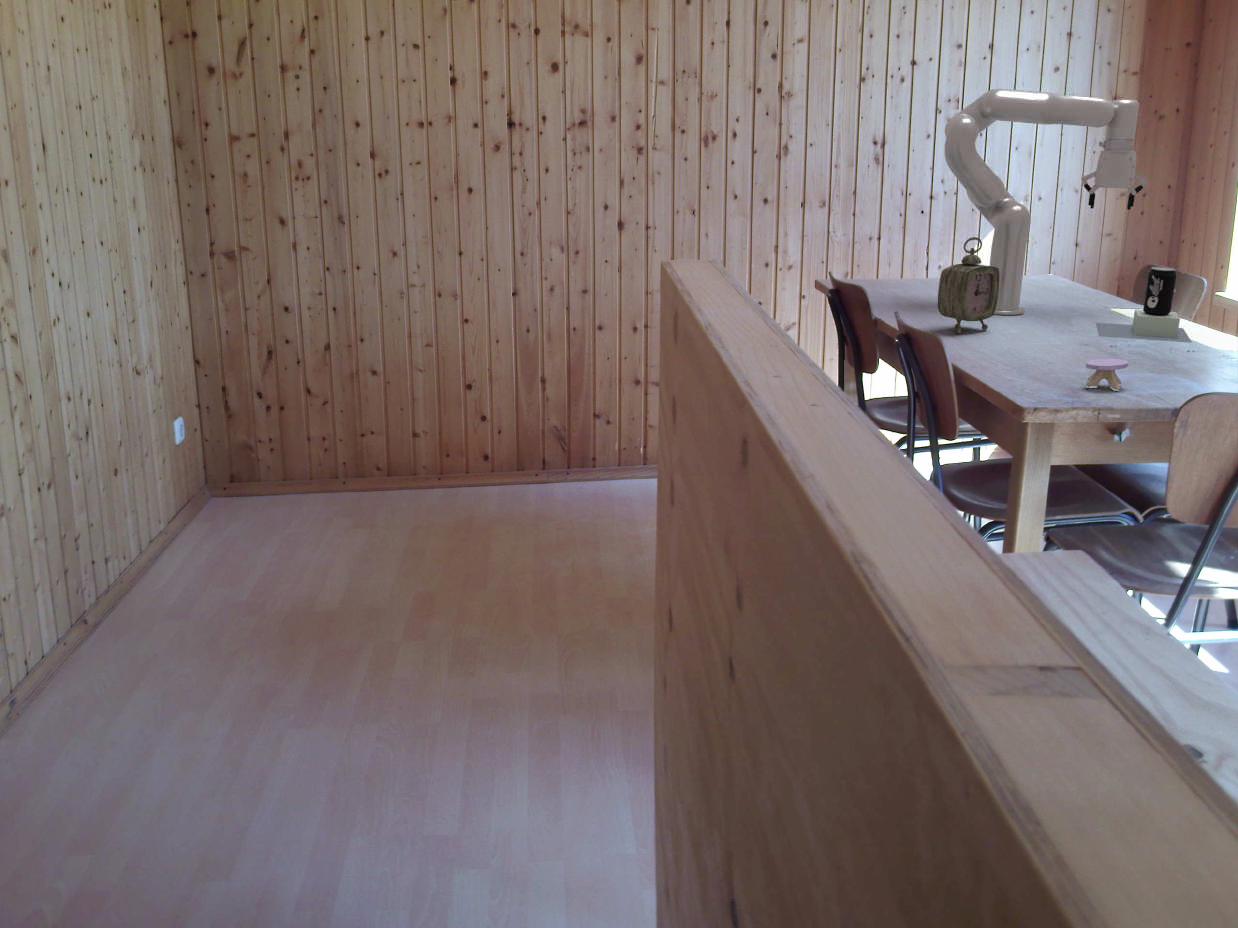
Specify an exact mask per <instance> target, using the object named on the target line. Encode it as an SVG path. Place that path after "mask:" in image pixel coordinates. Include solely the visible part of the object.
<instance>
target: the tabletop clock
mask: <svg viewBox="0 0 1238 928" xmlns="http://www.w3.org/2000/svg"><path fill="white" fill-rule="evenodd" d="M970 241H978V242H979V244H980V245H979V248H977V249H976V250H975V247H971V248H970V250H968V249H967V248H966V246H967V244H968V243H969V242H970ZM982 241H983V240H981V238H979V237H975V236H973V237H969V238H968V239H966V241H965V242H964V244H963V251H964V252H965V253H966V254H967V255H964V256H963V257H962V259H961V260H960V262H961V263H957V264H953V265H950V266H948V267H946V268H944V269H942V270H941V273H940V277H939V281H938V282H939V284H938V290H937V293H938V294H937V310H938V312H939V314H940V315H941V316H943V317H946V318H950V319H955V320H956V324H954V329H955V330H954V332H955V334H956V335H960V334H961V333H962V329H961V328H962V327H961V322H962V321H966V322H980V324H981V329H982V330H983V331H987V330H988V328H989V327H988V324H986V323H984V321H985V320H987V319H990V318H991V317H993V316H994V315H995V314H994V312H995V309H996V305H997V300H998V293H999V269H998V268H996V267H993V266H990V265H985V264H982V259H981V258H980V257H979V256H978V255H977V253H978V252H979V251H980V250H981V249H982V247H983V242H982Z"/></svg>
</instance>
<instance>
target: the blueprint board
mask: <svg viewBox="0 0 1238 928" xmlns="http://www.w3.org/2000/svg"><path fill="white" fill-rule="evenodd" d="M1132 326H1133V324H1123V323H1121V324H1120V323H1106V322H1095V327H1096V330H1097V333H1098V337H1101V338H1103V337H1105V338H1118V339H1119V338H1121V339H1134V340H1135V339H1136V340H1151V341H1161V342H1162V341H1165V342H1179V343H1181V342H1182V343H1193V342H1192V340H1191V338H1190V337H1189V335H1188V334H1187V332H1186V331H1185V329H1184V327H1179V328H1178V335H1177V338H1173V337H1157V336H1142V335H1135V334H1134V331H1133V329H1132Z"/></svg>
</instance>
